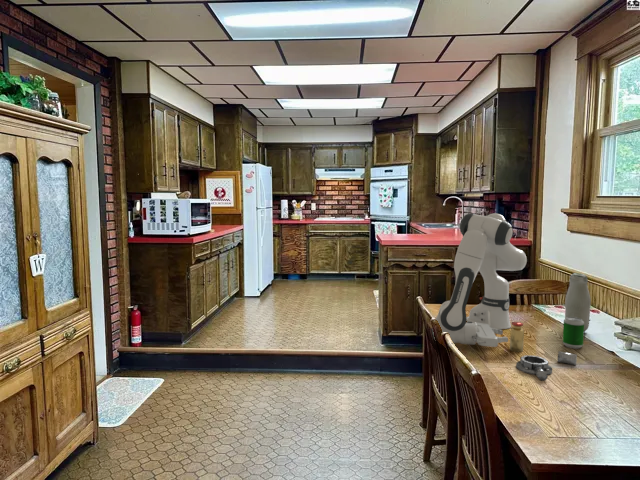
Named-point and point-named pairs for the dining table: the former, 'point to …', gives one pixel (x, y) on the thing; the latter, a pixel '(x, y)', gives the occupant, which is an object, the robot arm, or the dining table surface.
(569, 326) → the soda can
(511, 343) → the red capped jar
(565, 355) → the block
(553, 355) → the dining table surface
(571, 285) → the grey bottle
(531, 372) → the flange fitting
